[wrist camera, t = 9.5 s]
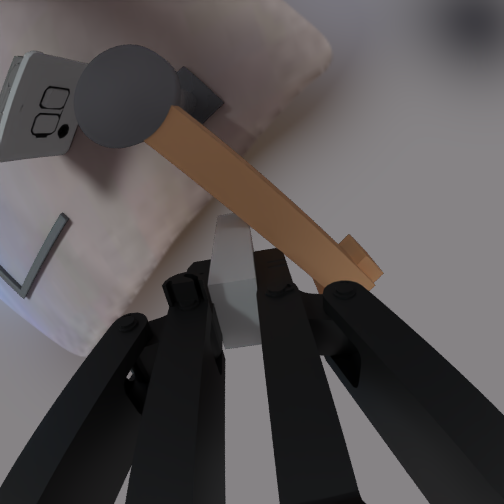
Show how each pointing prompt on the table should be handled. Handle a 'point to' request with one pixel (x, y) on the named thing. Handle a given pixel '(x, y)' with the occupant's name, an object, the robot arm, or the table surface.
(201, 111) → the mast
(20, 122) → the electrical switch
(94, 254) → the table surface
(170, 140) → the lever
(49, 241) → the bay
